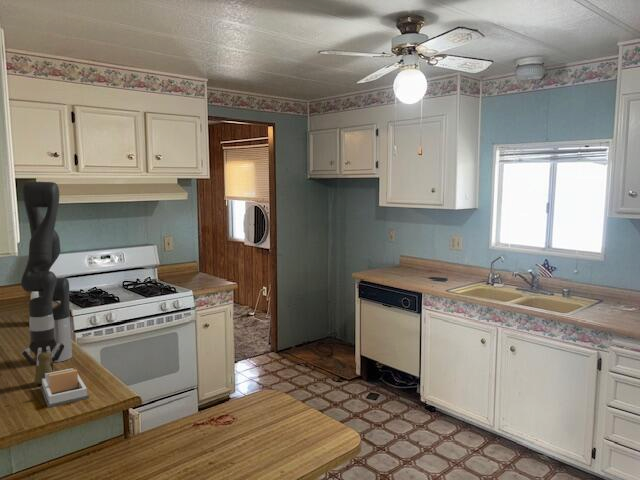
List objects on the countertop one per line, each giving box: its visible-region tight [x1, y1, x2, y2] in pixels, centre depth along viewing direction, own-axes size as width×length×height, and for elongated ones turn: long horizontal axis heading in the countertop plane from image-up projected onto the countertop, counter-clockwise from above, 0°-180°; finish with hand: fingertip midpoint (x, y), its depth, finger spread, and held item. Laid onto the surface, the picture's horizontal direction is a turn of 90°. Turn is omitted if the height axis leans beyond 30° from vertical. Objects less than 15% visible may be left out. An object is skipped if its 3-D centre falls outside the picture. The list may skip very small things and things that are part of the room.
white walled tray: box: [40, 367, 90, 408], centre depth 164 cm, size 18×12×5 cm, turn 36°
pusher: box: [49, 369, 79, 393], centre depth 164 cm, size 4×8×6 cm, turn 126°
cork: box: [34, 351, 54, 384], centre depth 172 cm, size 6×6×11 cm
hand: (44, 373), depth 172 cm, fingers closed on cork, 2 cm apart
